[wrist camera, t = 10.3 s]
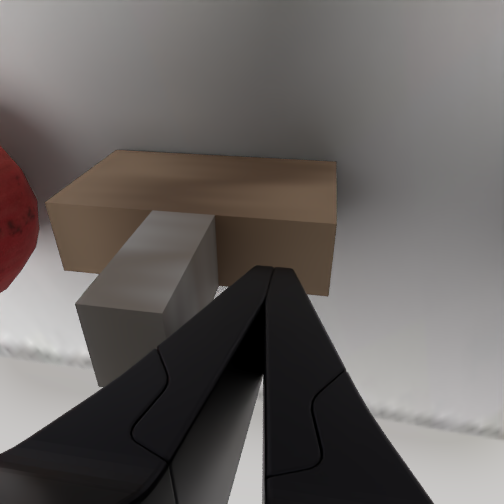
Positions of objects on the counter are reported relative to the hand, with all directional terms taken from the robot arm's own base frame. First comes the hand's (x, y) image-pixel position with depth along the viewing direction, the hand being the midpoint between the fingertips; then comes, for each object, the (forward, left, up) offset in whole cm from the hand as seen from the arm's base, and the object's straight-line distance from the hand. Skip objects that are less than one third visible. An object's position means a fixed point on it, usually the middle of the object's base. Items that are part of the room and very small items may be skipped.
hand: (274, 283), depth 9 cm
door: (+2, 0, -5) cm, 6 cm away
